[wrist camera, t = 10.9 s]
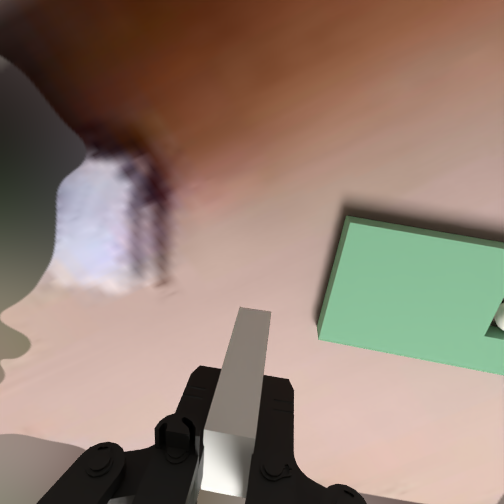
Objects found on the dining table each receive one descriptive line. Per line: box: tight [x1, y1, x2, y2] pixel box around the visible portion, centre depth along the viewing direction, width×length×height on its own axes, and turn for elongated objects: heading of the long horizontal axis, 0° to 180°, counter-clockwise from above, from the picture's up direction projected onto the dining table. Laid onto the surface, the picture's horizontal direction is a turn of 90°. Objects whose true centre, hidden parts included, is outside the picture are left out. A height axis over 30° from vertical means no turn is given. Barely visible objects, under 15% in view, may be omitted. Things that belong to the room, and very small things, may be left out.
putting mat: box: [317, 216, 504, 375], centre depth 33 cm, size 16×28×18 cm, turn 82°
